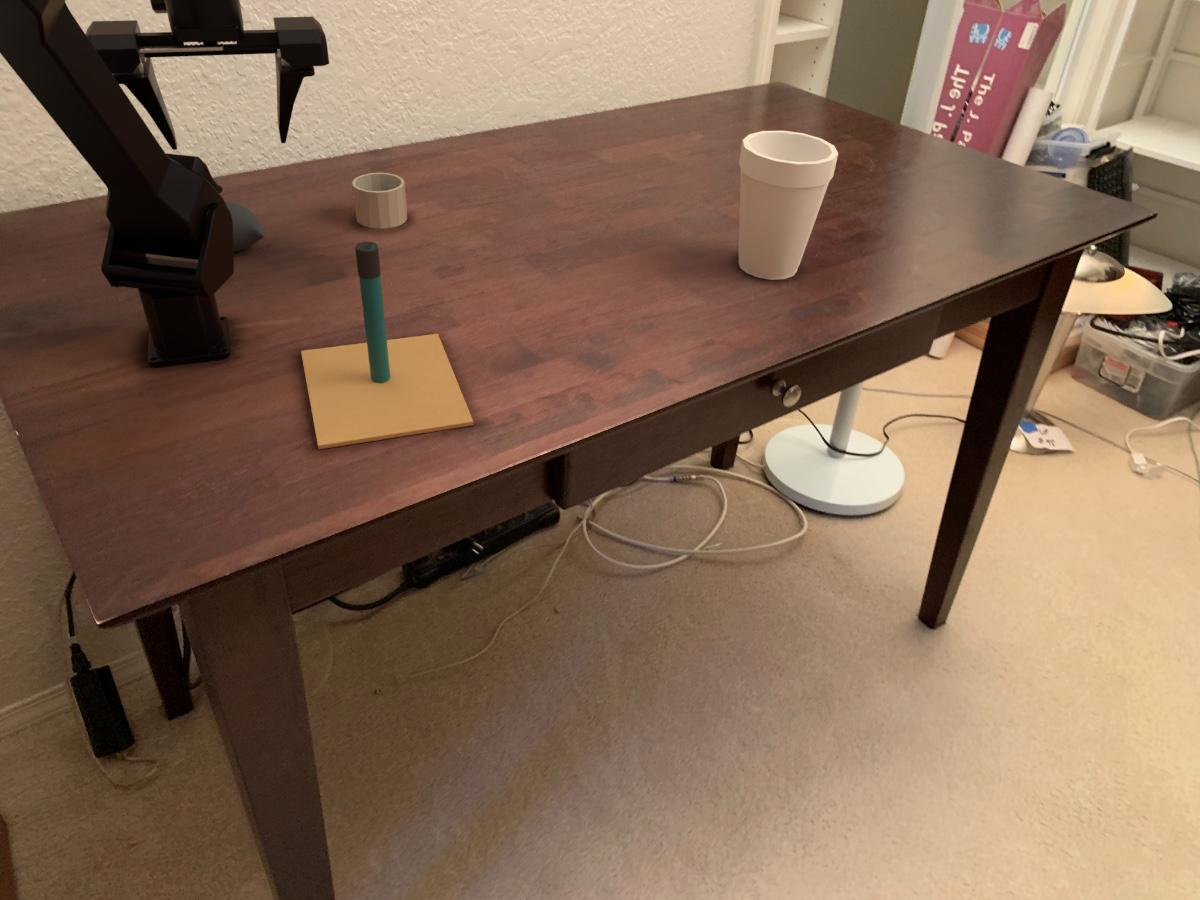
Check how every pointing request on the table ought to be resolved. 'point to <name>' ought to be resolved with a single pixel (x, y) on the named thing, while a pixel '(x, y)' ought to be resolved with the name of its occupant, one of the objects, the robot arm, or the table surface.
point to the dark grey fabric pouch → (244, 226)
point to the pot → (379, 200)
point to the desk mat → (382, 392)
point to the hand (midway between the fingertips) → (229, 145)
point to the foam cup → (780, 199)
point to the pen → (373, 310)
